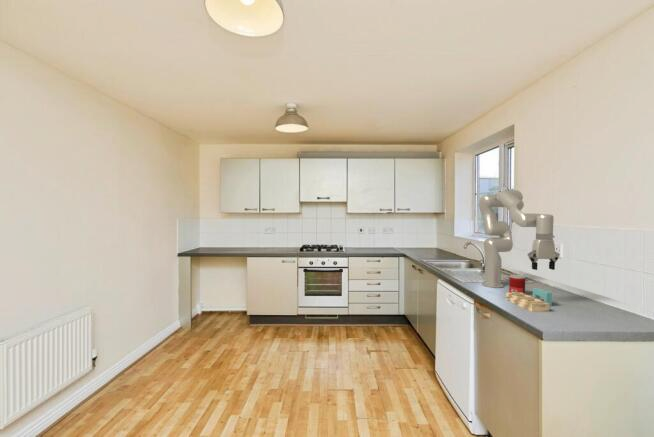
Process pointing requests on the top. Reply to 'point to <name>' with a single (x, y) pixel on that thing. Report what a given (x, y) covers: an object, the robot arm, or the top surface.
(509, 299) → the tan slotted block
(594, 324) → the top surface
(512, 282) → the canned food
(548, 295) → the teal long block
